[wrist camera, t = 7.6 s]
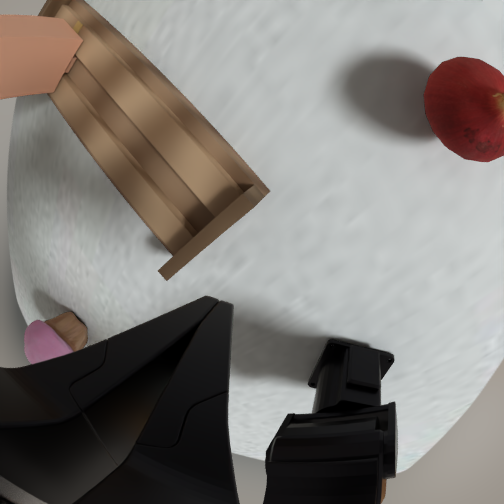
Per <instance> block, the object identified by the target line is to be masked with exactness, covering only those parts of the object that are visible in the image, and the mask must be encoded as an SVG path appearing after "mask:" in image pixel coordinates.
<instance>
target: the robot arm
mask: <svg viewBox="0 0 504 504" xmlns="http://www.w3.org/2000/svg"><path fill="white" fill-rule="evenodd" d="M233 309H234V306H233V304H231V303H228V302H225V301H219V300H218V299H216V298H213V297H210V296H204V297H202V298H199V299H197V300H195V301H193V302H190V303H188V304H186V305H184V306H181V307H179V308H177V309H175V310H172V311H170V312H168V313H166V314H163V315H161V316H159V317H157V318H154V319H152V320H150V321H147V322H145V323H143V324H140V325H138V326H136V327H134V328H131V329H129V330H127V331H124V332H122V333H120V334H117V335H115V336H113V337H110V338H108V340H106V339H105V340H103V341H101V342H98V343H96V344H93V345H91V346H88V347H86V348H83V349H80V350H78V351H75V352H72V353H69V354H65V355H62V356H59V357H56V358H52V359H49V360H45V361H42V362H38V363H35V364H31V365H28V366H23V367H18V368H3V367H0V504H240V503H239V498H238V493H237V487H236V482H235V475H234V468H233V462H232V455H231V447H230V439H229V428H228V400H229V394H228V393H229V378H230V360H231V342H232V325H233ZM331 345H334V346H331ZM387 359H389V360H387ZM393 362H394V355H393V354H390V353H385V352H381V351H377V350H373V349H369V348H365V347H361V346H357V345H353V344H349V343H345V342H341V341H337V340H329V341H328V342H327V343H326V346H325V348H324V350H323V352H322V354H321V356H320V358H319V360H318V362H317V365H316V367H315V369H314V371H313V373H312V375H311V377H310V379H309V381H308V386H310V387H312V388H316V394H315V399H314V405H313V410H312V413H311V414H295V413H292V414H287V416H286V418H285V420H284V421H283V423H282V425H281V426H280V428H279V430H278V432H277V433H276V435H275V437H274V438H273V440H272V442H271V443H270V445H269V447H268V449H267V450H266V459H265V468H266V474H267V486H266V492H265V497H264V502H263V504H381V503H382V501H383V499H384V498H385V494H386V480H387V479H389V478H395V477H396V468H397V455H398V430H397V415H396V404H395V402H391V403H389V404H386V405H381V380H382V378H383V377H384V376H385V374H386V373H387V371H388V370H389V368H390V367H391V365H392V364H393Z"/></svg>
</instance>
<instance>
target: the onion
mask: <svg viewBox="0 0 504 504" xmlns="http://www.w3.org/2000/svg"><path fill="white" fill-rule="evenodd" d="M424 103H425V114H426V116H427V118H428V121H429V123H430V126H431V128H432V130H433V132H434V133H435V134H436V136H437V137H438V138H439V139H440V141H441V142H442V143H443V144H444V146H446V147H447V148H448V149H449V150H451V151H453V152H454V153H456V154H457V155H459V156H461V157H462V158H464V159H467V160H473V161H479V162H490V161H492V160H494V159H497V158H499V157H501V156H504V76H503V74H502V73H501V72H500V71H499V70H497V69H496V68H494V67H492V66H491V65H489V64H487V63H486V62H484V61H482V60H480V59H475V58H468V57H456V58H453V59H450V60H447V61H444V62H442V63H441V64H440V65H439V66H438V67H437V68H436V69H435V70H434V71H433V72H432V74H431V75H430V76H429V78H428V82H427V85H426V88H425V92H424Z"/></svg>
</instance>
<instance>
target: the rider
mask: <svg viewBox="0 0 504 504" xmlns="http://www.w3.org/2000/svg"><path fill="white" fill-rule="evenodd" d="M82 42H83V39H82V38H81V37H80V36H79V35H78V34H77V33H76V32H75V31H74V30H73V29H72V28H71V27H70V25H69V24H68V23H67V22H66V21H65V20H64V19H62V18H53V17H43V16H29V15H0V99H5V98H12V97H18V96H26V95H33V94H42V93H53V92H54V91H55V89H56V87H57V85H58V83H59V81H60V79H61V77H62V76H63V74H64V73H69V71H70V69H71V67H72V66H73V64H74V62H75V60H76V59H77V58H76V57H75V55H74V54H75V53H76V51H77V50H78V48H79V46H80V45H81V43H82Z"/></svg>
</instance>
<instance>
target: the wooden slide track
mask: <svg viewBox="0 0 504 504" xmlns="http://www.w3.org/2000/svg"><path fill="white" fill-rule="evenodd" d="M38 16H43V17H53V18H62V19H64V20H65V21H66V22H67V23H68V24H69V25H70V27H71V28H72V29H73V30H74V31H75V32H76V33H77V34H78V35H79V36H80V37H81V38H82V39H83V42H82V43H81V45H80V46H79V48H78V50H77V51H76V53H75V54H74V55H75V57H76V58H77V59H76V60H75V62H74V64H73V66H72V67H71V69H70V71H69V73H64V74H63V76H62V77H61V79H60V81H59V83H58V85H57V87H56V89H55V91H54V92H53V93H47V94H48V95H49V97H50V98H51V100H52V101H53V103H54V104H55V106H56V107H57V109H58V110H59V112H60V113H61V114H62V116H63V117H64V119H65V120H66V122H67V123H68V124H69V126H70V127H71V129H72V130H73V131H74V133H75V134H76V136H77V137H78V138H79V140H80V141H81V142H82V144H83V145H84V146H85V148H86V149H87V151H88V152H89V153H90V155H91V156H92V157H93V159H94V160H95V161H96V162H97V164H98V165H99V166H100V168H101V169H102V170H103V172H104V173H105V174H106V176H107V177H108V178H109V179H110V181H111V182H112V183H113V184H114V186H115V187H116V188H117V190H118V191H119V192H120V193H121V195H122V196H123V197H124V198H125V200H126V201H127V202H128V203H129V204H130V206H131V207H132V208H133V209H134V211H135V212H136V213H137V214H138V215H139V217H140V218H141V219H142V220H143V221H144V223H145V224H146V225H147V226H148V227H149V229H150V230H151V231H152V232H153V233H154V235H155V236H156V237H157V238H158V239H159V240H160V242H161V243H162V244H163V245H164V246H165V247H166V249H167V250H168V251H169V252H170V253H171V254H172V255H173V257H172V258H171V259H170V260H169V261H168V262H167V263H165V264H164V265H163V266H162V267H161V268H160V269H159V270H158V272H159V273H160V274H161V275H162V276H163V277H164V279H165V280H166V281H167V280H169V279H170V278H171V277H172V276H173V275H174V274H175V273H177V272H178V271H179V270H180V269H181V268H182V267H184V266H185V265H186V264H187V263H188V262H189V261H191V260H192V259H193V258H194V257H195V256H196V255H198V254H199V253H200V252H201V251H202V250H203V249H205V248H206V247H207V246H208V245H209V244H210V243H212V242H213V241H214V240H215V239H216V238H218V237H219V236H220V235H221V234H222V233H224V232H225V231H226V230H227V229H228V228H230V227H231V226H232V225H233V224H234V223H236V222H237V221H238V220H239V219H240V218H242V217H243V216H244V215H245V214H246V213H248V212H249V211H250V210H251V209H253V208H254V207H255V206H256V205H257V204H258V203H259V202H260V201H261V200H262V199H263V198H264V197H265V196H266V195H267V194H268V193H269V192H270V190H269V189H268V188H267V187H266V186H265V184H264V183H263V182H262V181H261V180H260V179H259V177H258V176H257V175H256V174H255V173H254V172H253V171H252V169H251V168H250V167H249V166H248V165H247V164H246V163H245V161H244V160H243V159H242V158H241V157H240V156H239V155H238V153H237V152H236V151H235V150H234V149H233V148H232V147H231V146H230V145H229V143H228V142H227V141H226V140H225V139H224V138H223V137H222V136H221V135H220V133H219V132H218V131H217V130H216V129H215V128H214V127H213V126H212V125H211V124H210V123H209V122H208V120H207V119H206V118H205V117H204V116H203V115H202V114H201V113H200V112H199V111H198V110H197V109H196V108H195V107H194V106H193V104H192V103H191V102H190V101H189V100H188V99H187V98H186V97H185V96H184V95H183V94H182V93H181V92H180V91H179V90H178V89H177V88H176V87H175V86H174V85H173V84H172V83H171V82H170V81H169V80H168V79H167V78H166V77H165V76H164V75H163V74H162V73H161V72H160V71H159V70H158V69H157V68H156V67H155V66H154V65H153V64H152V63H151V62H150V61H149V60H148V59H147V58H146V57H145V56H144V55H143V54H142V53H141V52H140V51H139V50H138V49H137V48H136V47H135V46H134V45H133V44H132V43H131V42H129V41H128V40H127V39H126V38H125V37H124V36H123V35H122V34H121V33H120V32H119V31H118V30H117V29H116V28H114V27H113V26H112V25H111V24H110V23H109V22H108V21H107V20H106V19H104V18H103V17H102V16H101V15H100V14H99V13H98V12H97V11H95V10H94V9H93V8H92V7H91V6H90V5H89V4H87V3H86V2H85V1H84V0H47V1H46V3H45V4H44V6H43V8H42V9H41V11H40V13H39V15H38Z"/></svg>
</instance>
